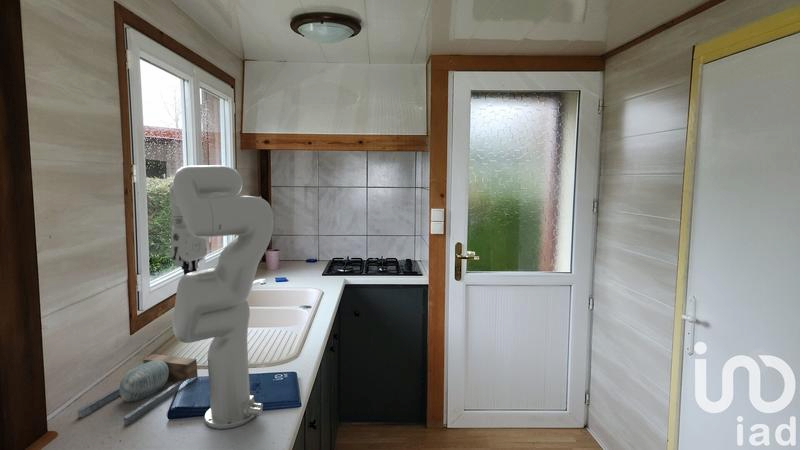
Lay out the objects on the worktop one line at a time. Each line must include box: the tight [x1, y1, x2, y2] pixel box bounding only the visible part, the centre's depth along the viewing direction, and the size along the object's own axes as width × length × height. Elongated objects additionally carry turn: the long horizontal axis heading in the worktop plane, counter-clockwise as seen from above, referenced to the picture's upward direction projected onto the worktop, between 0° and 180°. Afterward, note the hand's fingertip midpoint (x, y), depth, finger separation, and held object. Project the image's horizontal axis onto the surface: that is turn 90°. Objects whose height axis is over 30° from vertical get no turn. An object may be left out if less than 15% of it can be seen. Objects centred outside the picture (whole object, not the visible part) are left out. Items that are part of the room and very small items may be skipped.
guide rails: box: [76, 377, 188, 426], centre depth 126 cm, size 15×22×2 cm
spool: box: [119, 360, 169, 403], centre depth 129 cm, size 14×10×10 cm
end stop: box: [142, 353, 199, 383], centre depth 138 cm, size 15×4×6 cm, turn 76°
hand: (190, 282), depth 137 cm, fingers closed
